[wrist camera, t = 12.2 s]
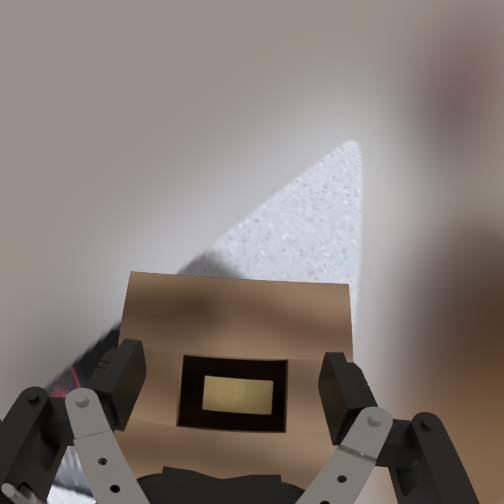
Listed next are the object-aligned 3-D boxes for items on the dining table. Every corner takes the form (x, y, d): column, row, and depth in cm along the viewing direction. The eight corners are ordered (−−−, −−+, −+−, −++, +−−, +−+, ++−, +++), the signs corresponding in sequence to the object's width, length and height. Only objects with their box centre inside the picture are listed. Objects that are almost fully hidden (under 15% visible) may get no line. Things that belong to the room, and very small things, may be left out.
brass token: (260, 408, 28) (271, 414, 20) (212, 405, 28) (202, 409, 19) (262, 385, 30) (273, 380, 21) (214, 381, 30) (205, 375, 21)
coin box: (305, 462, 26) (348, 499, 14) (158, 454, 26) (109, 485, 14) (307, 328, 34) (348, 283, 21) (169, 320, 33) (130, 271, 21)
